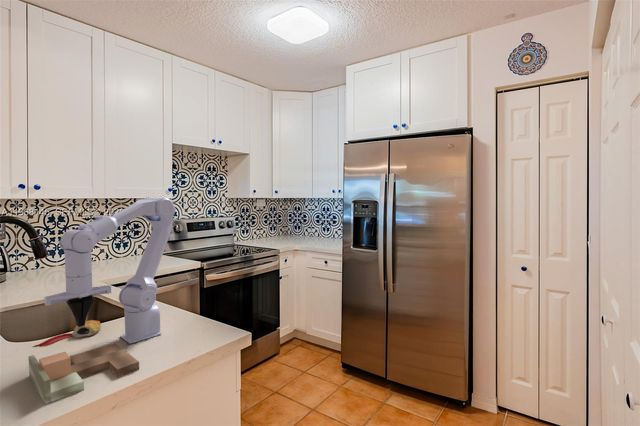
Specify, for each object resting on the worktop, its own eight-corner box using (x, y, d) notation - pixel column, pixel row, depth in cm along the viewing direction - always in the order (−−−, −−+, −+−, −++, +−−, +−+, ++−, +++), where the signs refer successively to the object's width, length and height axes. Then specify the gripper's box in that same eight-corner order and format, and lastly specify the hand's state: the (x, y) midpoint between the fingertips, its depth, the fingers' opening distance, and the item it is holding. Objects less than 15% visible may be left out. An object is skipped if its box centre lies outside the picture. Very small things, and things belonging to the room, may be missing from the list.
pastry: (83, 327, 114) (83, 315, 114) (106, 325, 116) (106, 314, 116) (70, 338, 105) (70, 326, 105) (95, 337, 107) (95, 324, 106)
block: (65, 367, 84) (65, 351, 84) (71, 373, 81) (70, 357, 81) (39, 375, 80) (39, 359, 80) (44, 382, 78) (43, 365, 77)
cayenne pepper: (30, 351, 98) (29, 344, 98) (29, 345, 101) (28, 339, 101) (81, 339, 106) (80, 333, 106) (78, 334, 109) (78, 328, 109)
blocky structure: (115, 349, 98) (114, 332, 98) (139, 369, 87) (138, 350, 87) (29, 376, 84) (28, 356, 83) (45, 403, 73) (44, 381, 73)
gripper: (48, 283, 83) (50, 338, 84) (114, 272, 94) (116, 321, 95) (41, 278, 87) (43, 330, 88) (105, 268, 98) (107, 315, 99)
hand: (80, 325), depth 92 cm, fingers closed
